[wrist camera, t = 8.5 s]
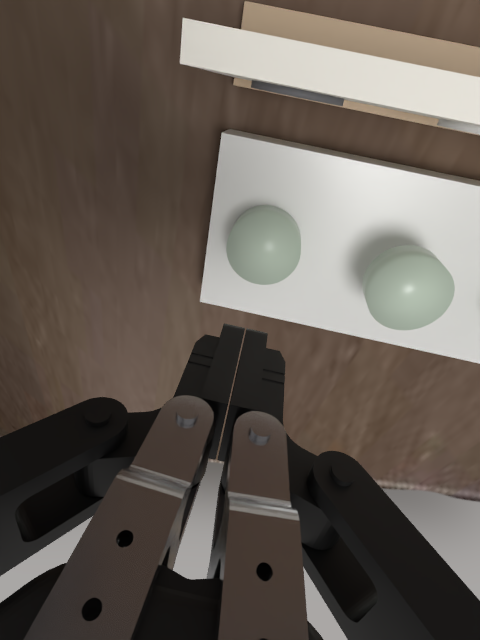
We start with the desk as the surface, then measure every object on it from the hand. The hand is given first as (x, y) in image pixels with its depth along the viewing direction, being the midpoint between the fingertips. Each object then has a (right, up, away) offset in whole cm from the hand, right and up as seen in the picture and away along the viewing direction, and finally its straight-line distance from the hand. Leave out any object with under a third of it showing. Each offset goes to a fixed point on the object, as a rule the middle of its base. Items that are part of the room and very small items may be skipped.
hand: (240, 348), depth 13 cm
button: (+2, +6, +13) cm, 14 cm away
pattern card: (+13, +14, +10) cm, 21 cm away
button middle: (+10, +3, +11) cm, 15 cm away
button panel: (+11, +6, +15) cm, 20 cm away
